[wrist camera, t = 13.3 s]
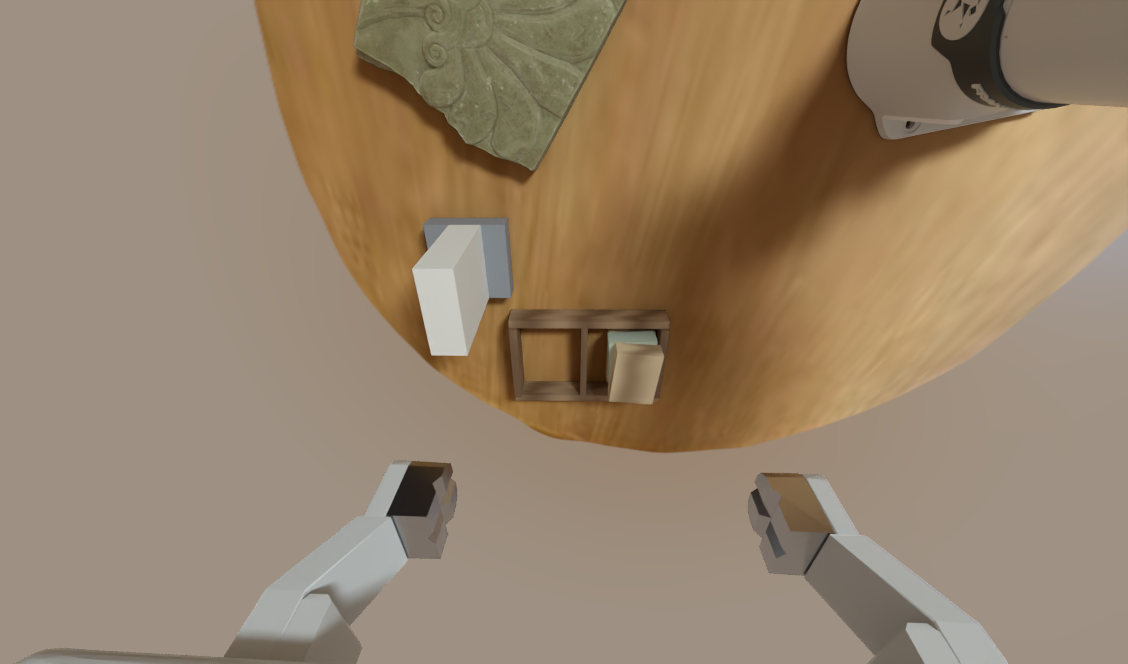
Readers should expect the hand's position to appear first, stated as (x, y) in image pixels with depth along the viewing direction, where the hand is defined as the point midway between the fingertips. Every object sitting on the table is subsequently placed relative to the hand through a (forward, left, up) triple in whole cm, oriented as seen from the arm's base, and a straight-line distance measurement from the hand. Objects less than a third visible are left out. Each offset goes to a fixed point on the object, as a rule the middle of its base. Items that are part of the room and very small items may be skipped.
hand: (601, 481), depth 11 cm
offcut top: (-7, +23, -35) cm, 42 cm away
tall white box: (+13, +9, -37) cm, 40 cm away
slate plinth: (+13, +9, -39) cm, 42 cm away
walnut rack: (-1, +23, -39) cm, 45 cm away
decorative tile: (+9, -13, -40) cm, 43 cm away
